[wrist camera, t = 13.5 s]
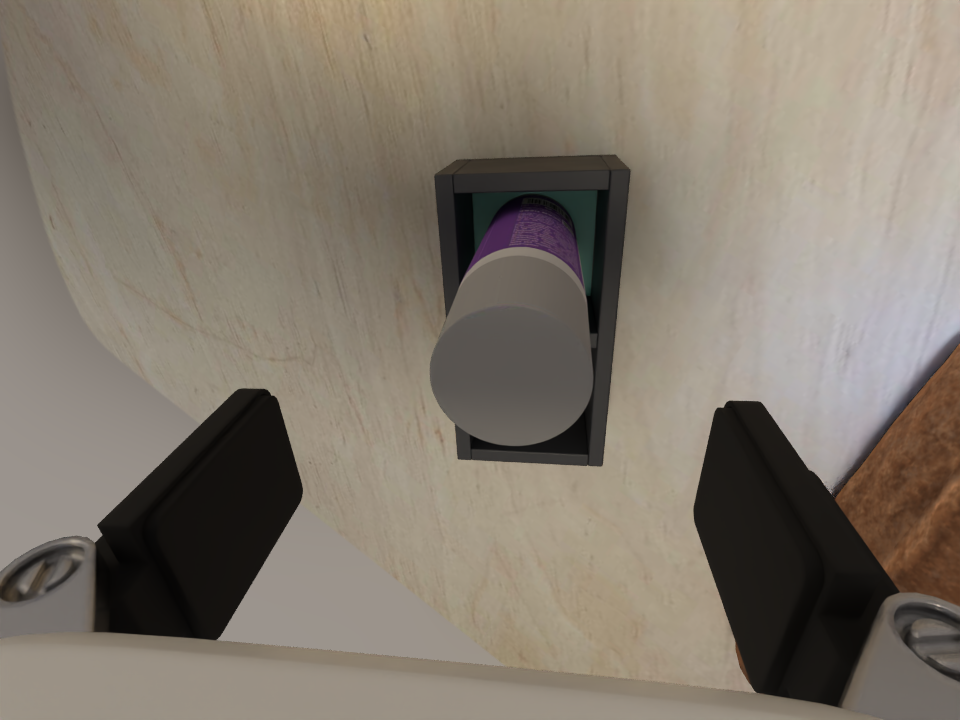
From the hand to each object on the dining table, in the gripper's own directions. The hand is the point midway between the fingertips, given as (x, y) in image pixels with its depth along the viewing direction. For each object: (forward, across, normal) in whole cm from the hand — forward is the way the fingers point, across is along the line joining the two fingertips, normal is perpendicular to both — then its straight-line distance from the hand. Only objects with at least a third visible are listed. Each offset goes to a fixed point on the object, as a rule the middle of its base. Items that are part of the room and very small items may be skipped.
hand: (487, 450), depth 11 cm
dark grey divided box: (+19, -1, +4) cm, 19 cm away
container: (+18, 0, 0) cm, 18 cm away
